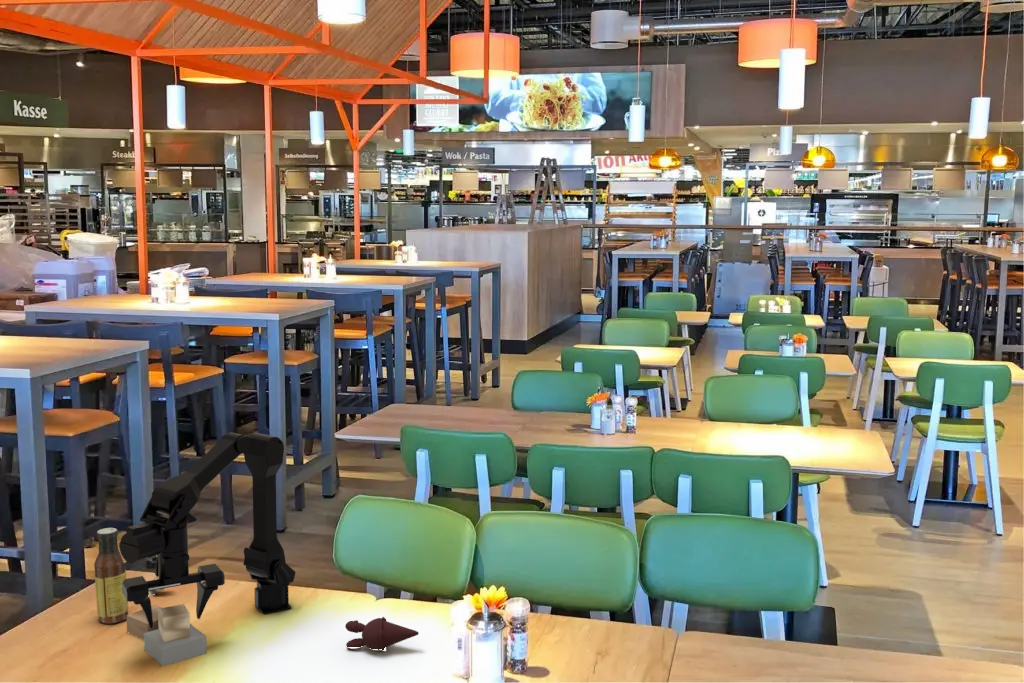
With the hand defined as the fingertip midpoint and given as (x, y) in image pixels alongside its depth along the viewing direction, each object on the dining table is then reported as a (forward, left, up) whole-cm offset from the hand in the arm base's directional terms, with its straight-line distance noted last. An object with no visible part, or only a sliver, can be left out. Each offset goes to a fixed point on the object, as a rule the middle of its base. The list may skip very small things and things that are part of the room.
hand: (174, 622), depth 200 cm
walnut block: (+2, -12, -6) cm, 14 cm away
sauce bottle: (+8, -22, -6) cm, 24 cm away
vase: (-4, -31, -6) cm, 32 cm away
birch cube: (0, 0, -2) cm, 2 cm away
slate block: (0, 0, -6) cm, 6 cm away
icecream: (-36, +19, -6) cm, 42 cm away
